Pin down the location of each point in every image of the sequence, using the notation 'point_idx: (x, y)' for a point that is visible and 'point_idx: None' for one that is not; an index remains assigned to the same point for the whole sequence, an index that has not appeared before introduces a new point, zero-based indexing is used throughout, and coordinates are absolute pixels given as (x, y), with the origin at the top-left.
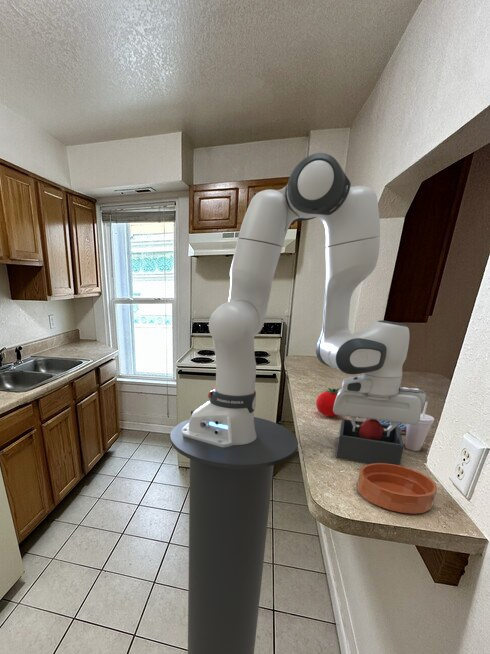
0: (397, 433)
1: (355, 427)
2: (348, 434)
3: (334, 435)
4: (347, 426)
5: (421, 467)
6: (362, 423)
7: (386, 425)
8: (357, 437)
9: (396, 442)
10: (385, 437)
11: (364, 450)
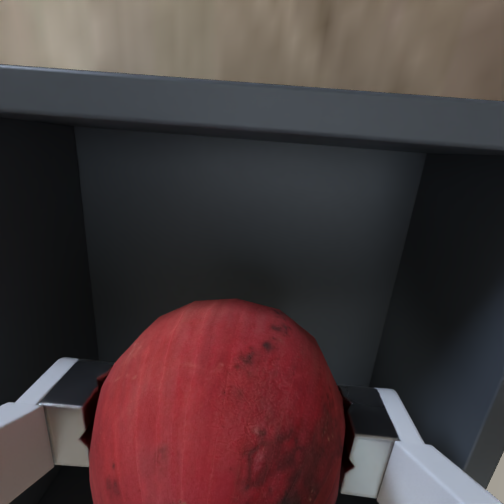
0: (493, 393)
1: (58, 453)
2: (97, 126)
3: (21, 34)
4: (19, 118)
5: None
6: (91, 487)
7: (465, 148)
8: (178, 133)
9: (431, 391)
10: (401, 149)
11: None
